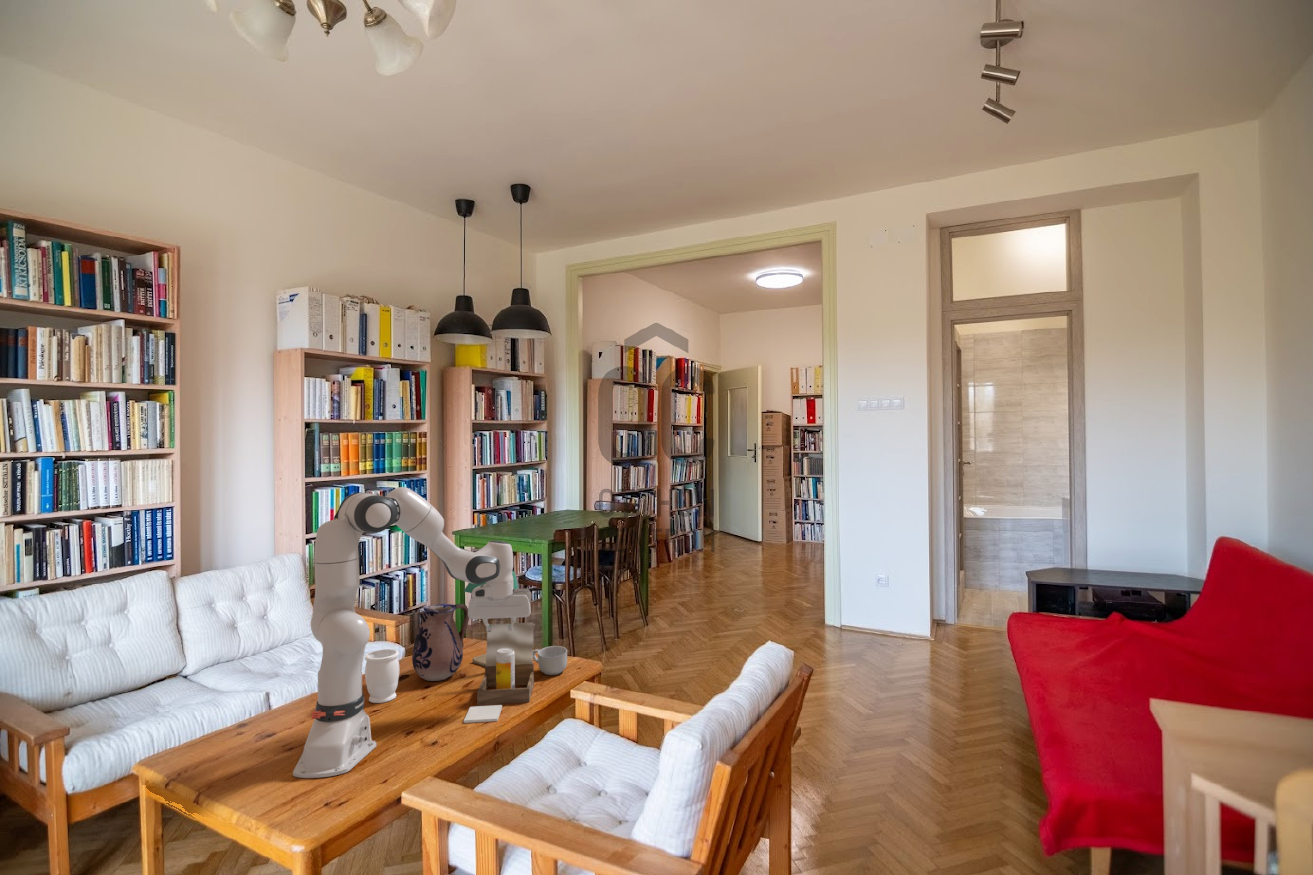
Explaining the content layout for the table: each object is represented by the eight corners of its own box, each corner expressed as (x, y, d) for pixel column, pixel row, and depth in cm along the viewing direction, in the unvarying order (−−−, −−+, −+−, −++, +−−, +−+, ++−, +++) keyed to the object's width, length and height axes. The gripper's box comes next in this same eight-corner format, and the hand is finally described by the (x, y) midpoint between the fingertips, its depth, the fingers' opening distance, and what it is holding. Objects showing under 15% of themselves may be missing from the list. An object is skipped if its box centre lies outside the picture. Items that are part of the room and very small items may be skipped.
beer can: (500, 690, 215) (499, 646, 215) (517, 691, 214) (517, 647, 214) (493, 698, 209) (493, 653, 209) (511, 698, 208) (510, 653, 208)
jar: (405, 692, 215) (404, 648, 215) (389, 705, 205) (389, 659, 205) (376, 692, 216) (375, 648, 216) (358, 704, 206) (358, 658, 206)
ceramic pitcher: (402, 679, 227) (401, 610, 227) (451, 662, 244) (450, 597, 245) (432, 689, 217) (431, 617, 217) (481, 671, 234) (480, 603, 235)
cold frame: (529, 702, 205) (528, 639, 205) (477, 705, 204) (476, 642, 204) (535, 678, 226) (534, 621, 226) (487, 681, 224) (487, 624, 224)
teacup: (573, 670, 233) (573, 648, 234) (553, 679, 224) (553, 657, 224) (545, 663, 241) (545, 642, 241) (525, 672, 232) (525, 651, 232)
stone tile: (497, 721, 192) (497, 718, 192) (463, 723, 191) (463, 720, 191) (502, 707, 201) (502, 704, 201) (470, 709, 200) (470, 706, 200)
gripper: (532, 586, 213) (532, 627, 213) (470, 588, 211) (470, 629, 211) (530, 590, 207) (530, 632, 207) (466, 592, 205) (466, 634, 205)
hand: (499, 631), depth 209 cm, fingers open, 6 cm apart
